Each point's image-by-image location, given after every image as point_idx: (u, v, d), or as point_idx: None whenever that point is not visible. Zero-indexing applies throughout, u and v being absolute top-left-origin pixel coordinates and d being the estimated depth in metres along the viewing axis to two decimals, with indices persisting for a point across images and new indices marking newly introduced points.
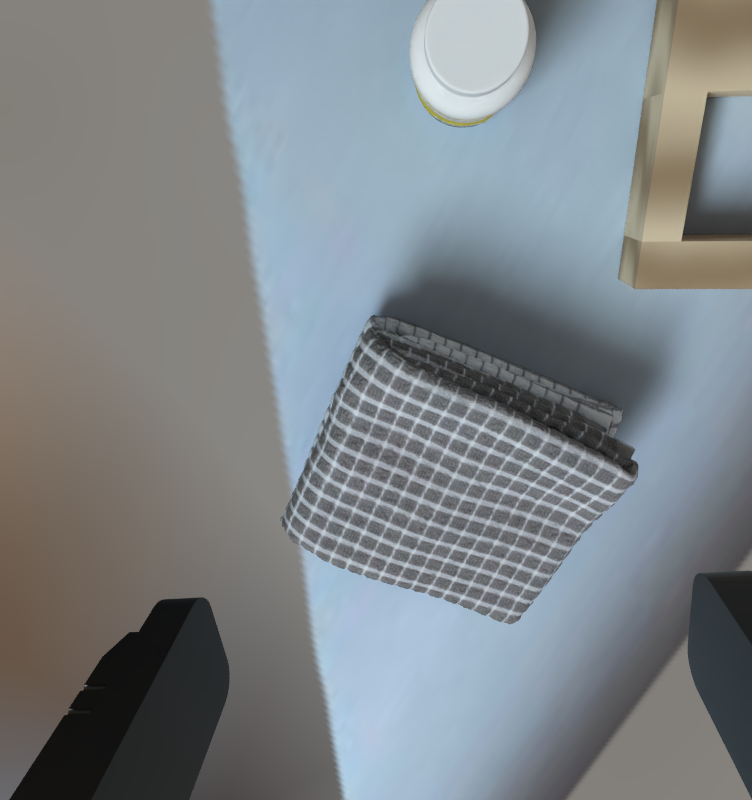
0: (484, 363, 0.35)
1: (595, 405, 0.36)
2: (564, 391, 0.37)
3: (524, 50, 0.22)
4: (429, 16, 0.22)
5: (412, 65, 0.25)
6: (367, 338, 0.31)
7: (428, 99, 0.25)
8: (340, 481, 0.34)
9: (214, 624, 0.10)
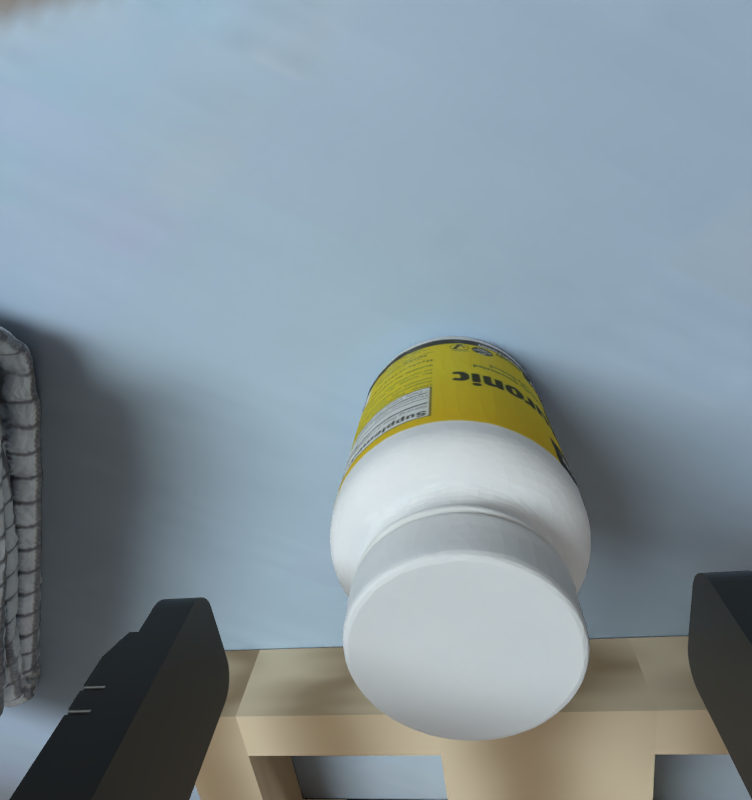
0: None
1: (14, 680, 0.23)
2: (24, 629, 0.23)
3: (440, 735, 0.10)
4: (498, 562, 0.09)
5: (415, 445, 0.11)
6: None
7: (353, 480, 0.11)
8: None
9: (214, 624, 0.10)
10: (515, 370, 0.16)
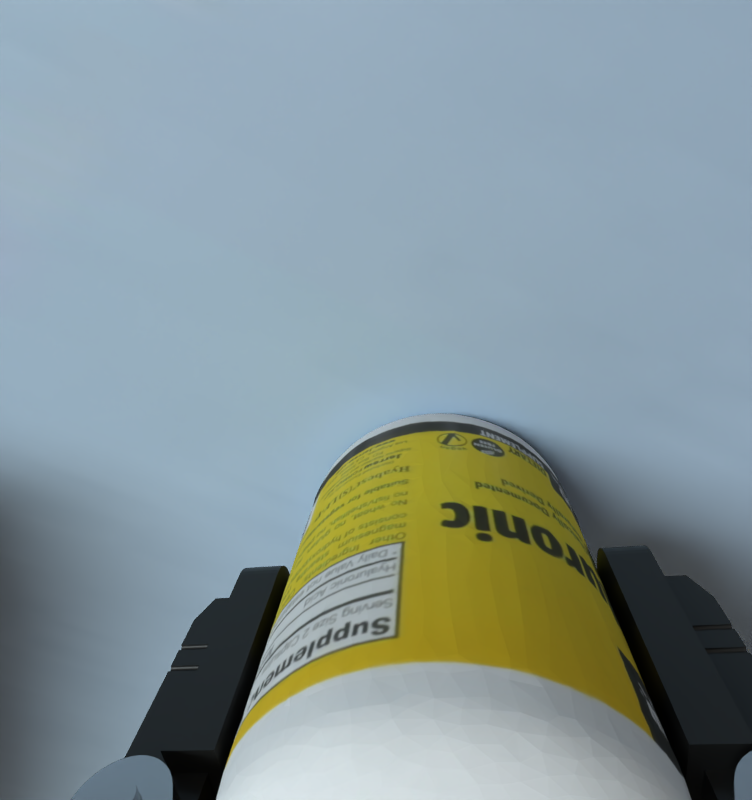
0: None
1: None
2: None
3: None
4: None
5: (362, 735, 0.05)
6: None
7: (242, 780, 0.06)
8: None
9: None
10: (539, 477, 0.10)
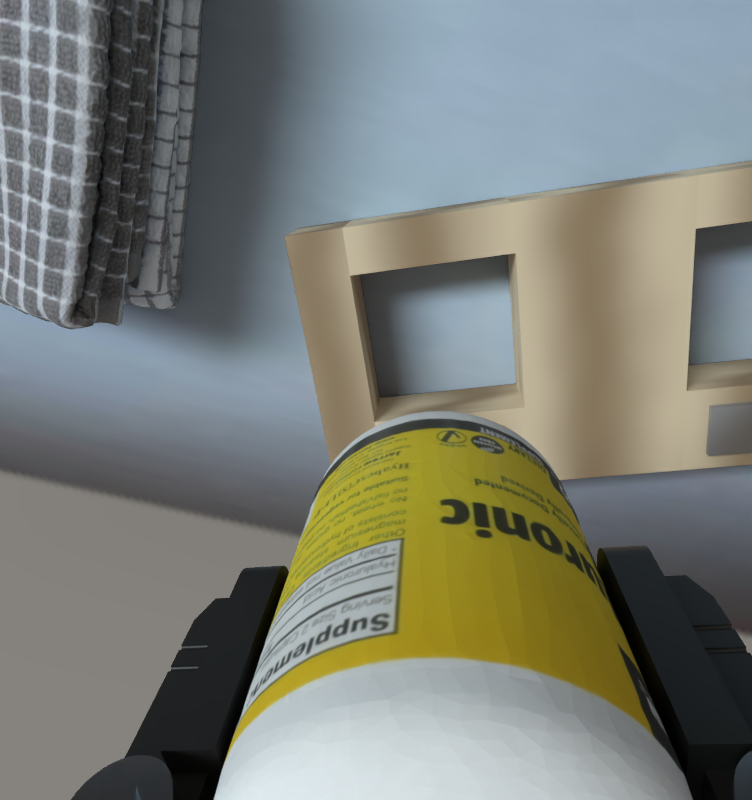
0: (175, 87, 0.23)
1: (167, 269, 0.27)
2: (175, 226, 0.27)
3: None
4: None
5: (361, 731, 0.05)
6: None
7: (241, 776, 0.06)
8: None
9: None
10: (539, 475, 0.10)
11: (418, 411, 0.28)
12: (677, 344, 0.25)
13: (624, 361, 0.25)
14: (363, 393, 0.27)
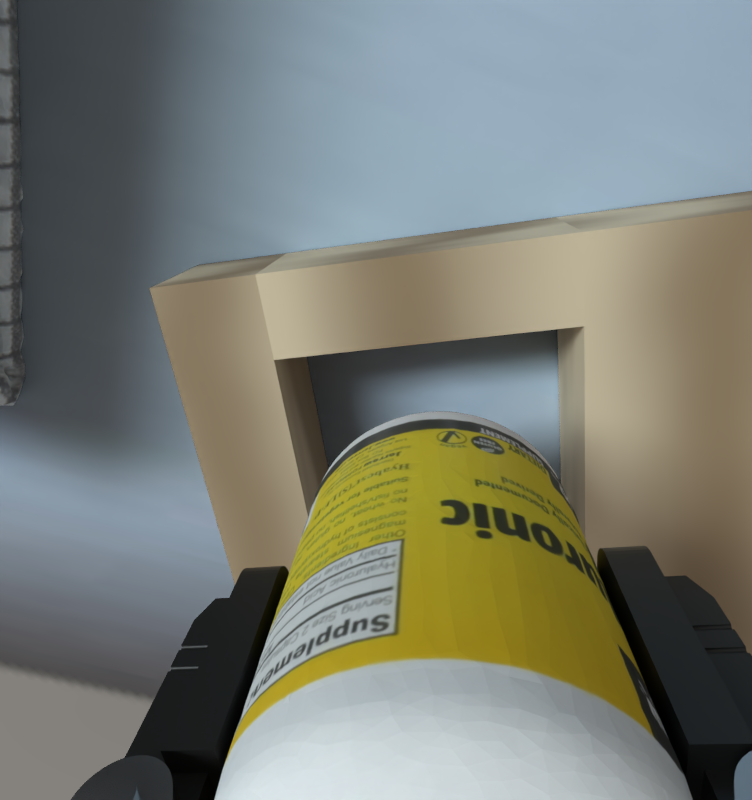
0: None
1: None
2: None
3: None
4: None
5: (362, 732, 0.05)
6: None
7: (241, 777, 0.06)
8: None
9: None
10: (539, 475, 0.10)
11: None
12: None
13: None
14: None
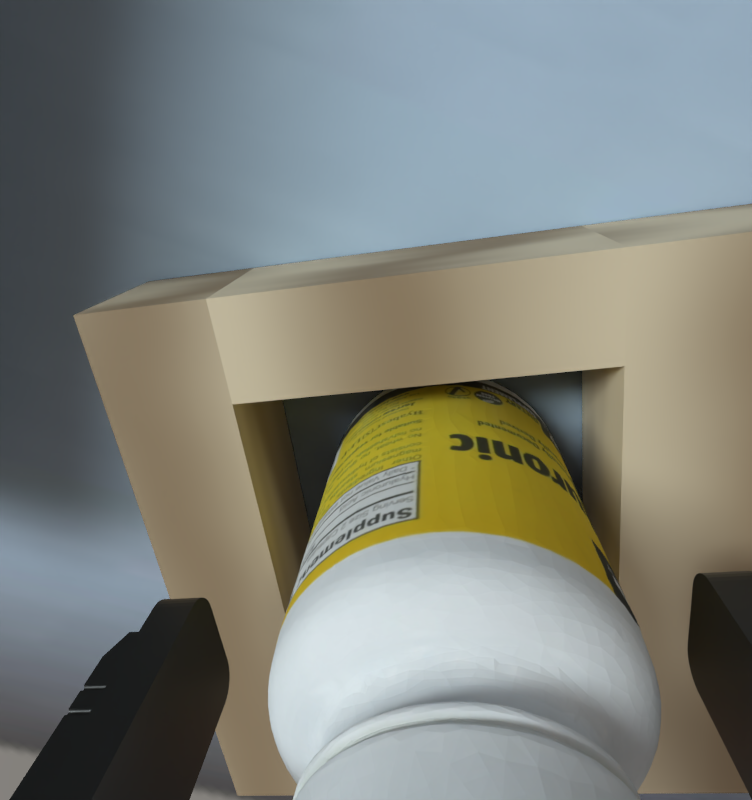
0: None
1: None
2: None
3: None
4: None
5: (394, 577, 0.07)
6: None
7: (300, 622, 0.07)
8: None
9: (214, 624, 0.10)
10: (532, 423, 0.12)
11: None
12: None
13: None
14: (276, 630, 0.13)
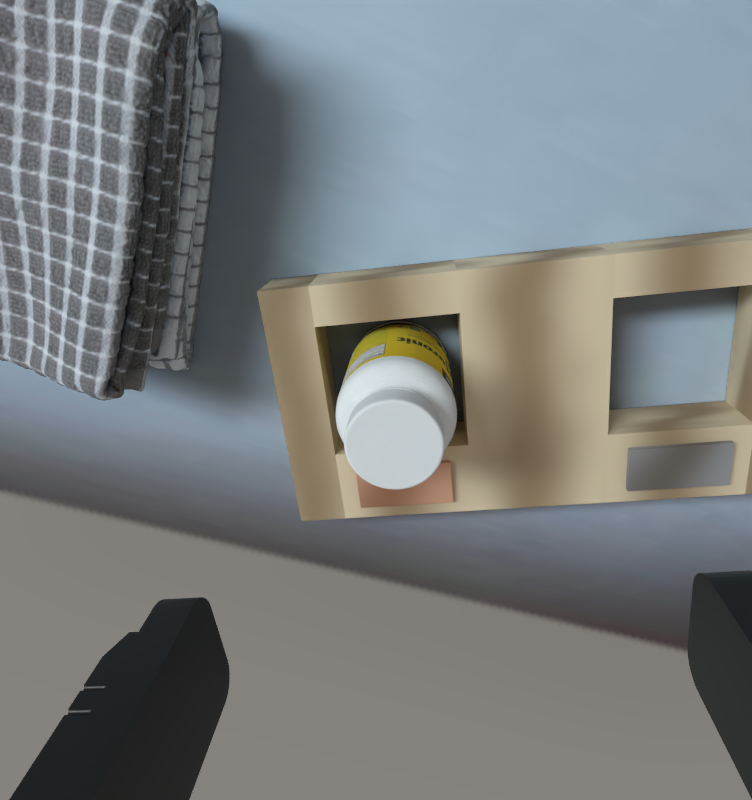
0: (194, 188, 0.27)
1: (183, 337, 0.30)
2: (190, 299, 0.30)
3: (384, 487, 0.23)
4: (406, 403, 0.22)
5: (376, 365, 0.24)
6: None
7: (348, 383, 0.25)
8: None
9: (214, 624, 0.10)
10: (432, 339, 0.29)
11: None
12: (599, 394, 0.28)
13: (554, 408, 0.29)
14: (325, 429, 0.30)
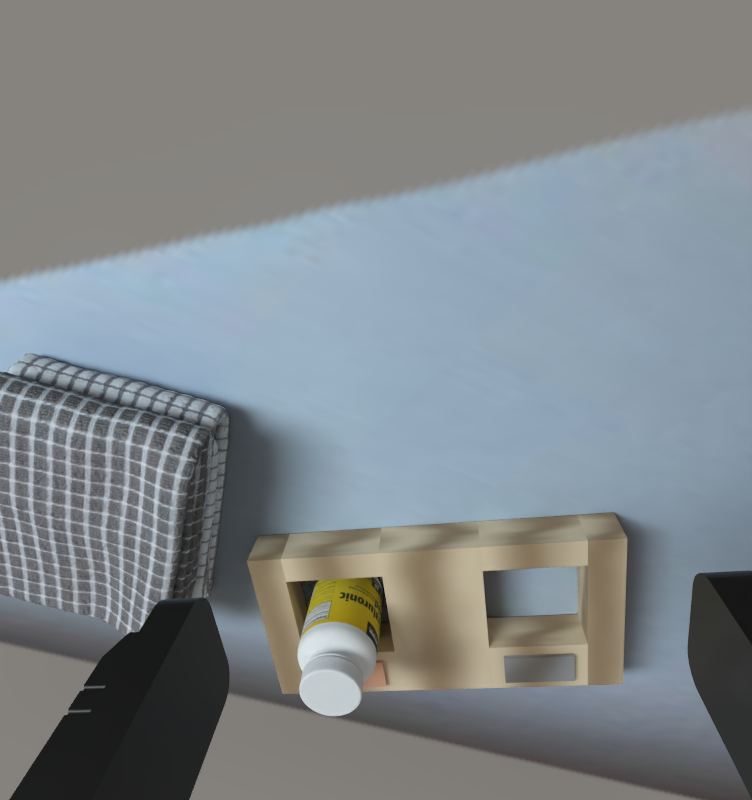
0: (213, 505, 0.41)
1: (206, 582, 0.44)
2: (211, 555, 0.44)
3: (326, 714, 0.37)
4: (336, 671, 0.36)
5: (321, 631, 0.38)
6: (200, 436, 0.35)
7: (304, 639, 0.38)
8: (54, 439, 0.34)
9: (214, 624, 0.10)
10: (367, 582, 0.43)
11: None
12: (480, 624, 0.42)
13: (450, 631, 0.42)
14: (296, 640, 0.44)
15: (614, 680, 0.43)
